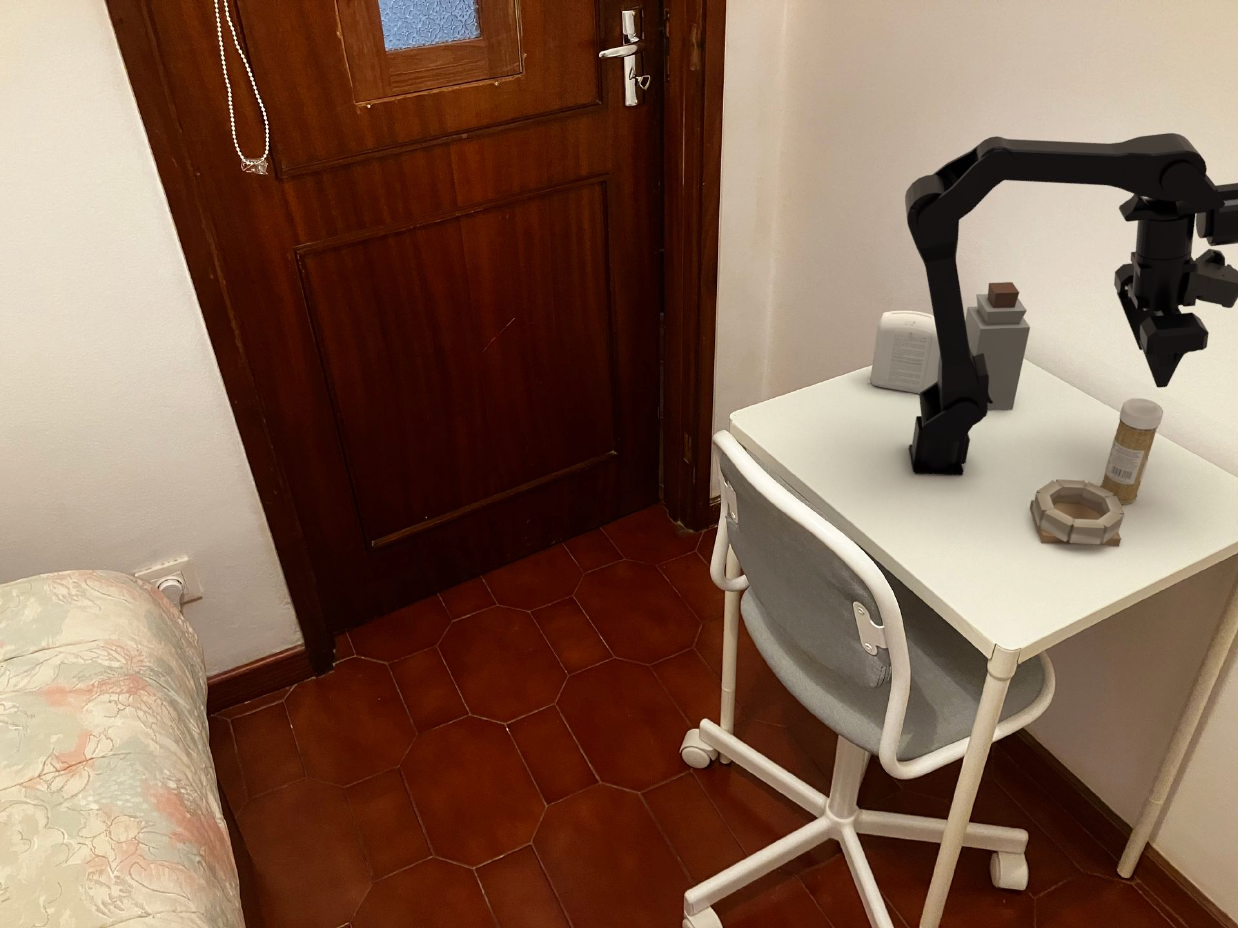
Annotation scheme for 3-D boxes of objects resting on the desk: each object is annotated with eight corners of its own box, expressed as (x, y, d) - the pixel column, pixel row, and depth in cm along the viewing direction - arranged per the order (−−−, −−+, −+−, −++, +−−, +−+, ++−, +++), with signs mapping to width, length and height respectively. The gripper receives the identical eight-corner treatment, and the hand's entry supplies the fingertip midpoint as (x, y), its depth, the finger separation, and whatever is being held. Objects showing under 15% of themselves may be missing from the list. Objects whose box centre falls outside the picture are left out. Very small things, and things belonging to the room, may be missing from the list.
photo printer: (941, 384, 155) (953, 311, 148) (937, 398, 152) (949, 324, 144) (872, 374, 158) (881, 302, 151) (867, 387, 155) (876, 314, 148)
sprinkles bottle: (1143, 497, 130) (1172, 408, 122) (1121, 510, 128) (1149, 420, 121) (1112, 480, 133) (1138, 392, 126) (1090, 492, 131) (1115, 404, 124)
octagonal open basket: (1041, 549, 123) (1047, 525, 121) (1025, 501, 130) (1031, 478, 128) (1124, 553, 122) (1131, 529, 119) (1103, 504, 129) (1110, 481, 127)
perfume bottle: (1012, 409, 148) (1036, 297, 138) (965, 411, 148) (986, 299, 138) (998, 386, 154) (1021, 276, 143) (953, 387, 154) (972, 278, 143)
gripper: (1269, 276, 107) (1250, 402, 115) (1218, 210, 122) (1204, 325, 130) (1153, 288, 110) (1142, 409, 118) (1117, 221, 125) (1109, 334, 133)
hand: (1152, 367), depth 125 cm, fingers open, 9 cm apart
